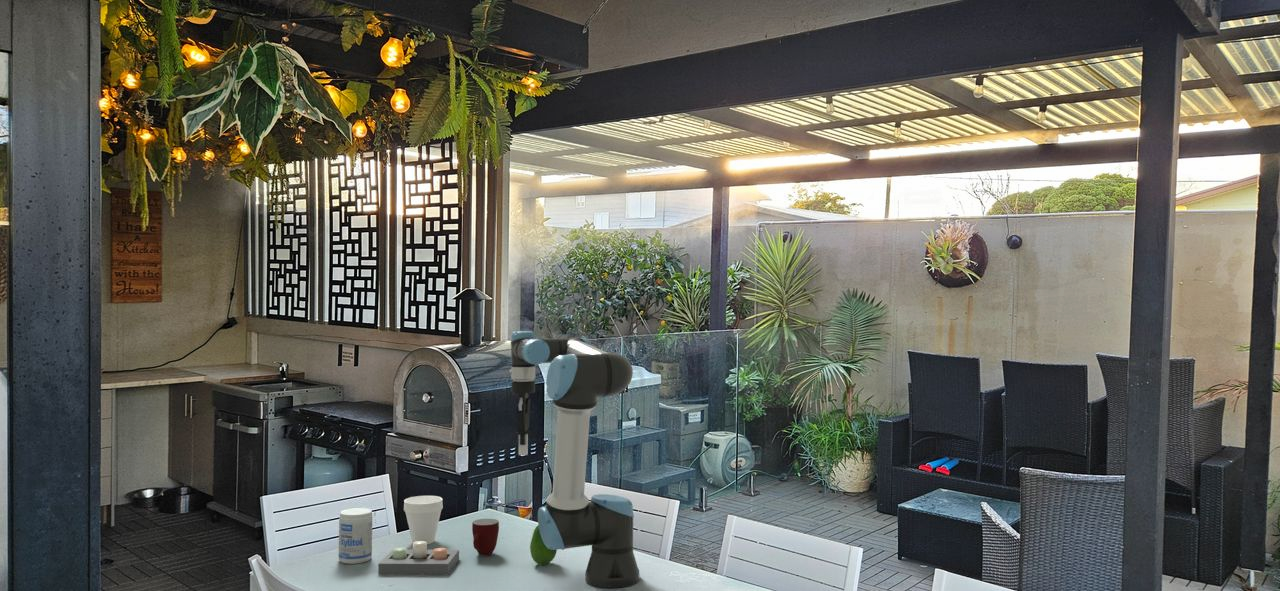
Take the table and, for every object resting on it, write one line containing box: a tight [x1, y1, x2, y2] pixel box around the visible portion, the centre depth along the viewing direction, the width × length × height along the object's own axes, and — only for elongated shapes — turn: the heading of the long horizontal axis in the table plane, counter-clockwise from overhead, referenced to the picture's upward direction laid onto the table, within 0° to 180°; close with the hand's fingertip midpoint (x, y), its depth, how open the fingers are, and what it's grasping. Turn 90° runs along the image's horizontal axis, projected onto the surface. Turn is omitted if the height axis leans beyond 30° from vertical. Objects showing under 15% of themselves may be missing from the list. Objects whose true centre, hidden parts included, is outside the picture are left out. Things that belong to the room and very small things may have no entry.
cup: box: [403, 495, 444, 545], centre depth 282 cm, size 12×12×14 cm
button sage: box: [392, 547, 408, 559], centre depth 255 cm, size 4×4×4 cm
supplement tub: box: [338, 507, 373, 565], centre depth 262 cm, size 10×10×15 cm
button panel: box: [377, 549, 460, 575], centre depth 255 cm, size 20×14×3 cm
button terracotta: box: [432, 547, 448, 559], centre depth 255 cm, size 4×4×4 cm
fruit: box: [529, 525, 558, 566], centre depth 257 cm, size 8×8×12 cm
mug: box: [471, 518, 500, 557], centre depth 266 cm, size 10×8×10 cm
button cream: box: [412, 541, 428, 559], centre depth 255 cm, size 4×4×4 cm
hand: (523, 454), depth 275 cm, fingers closed
